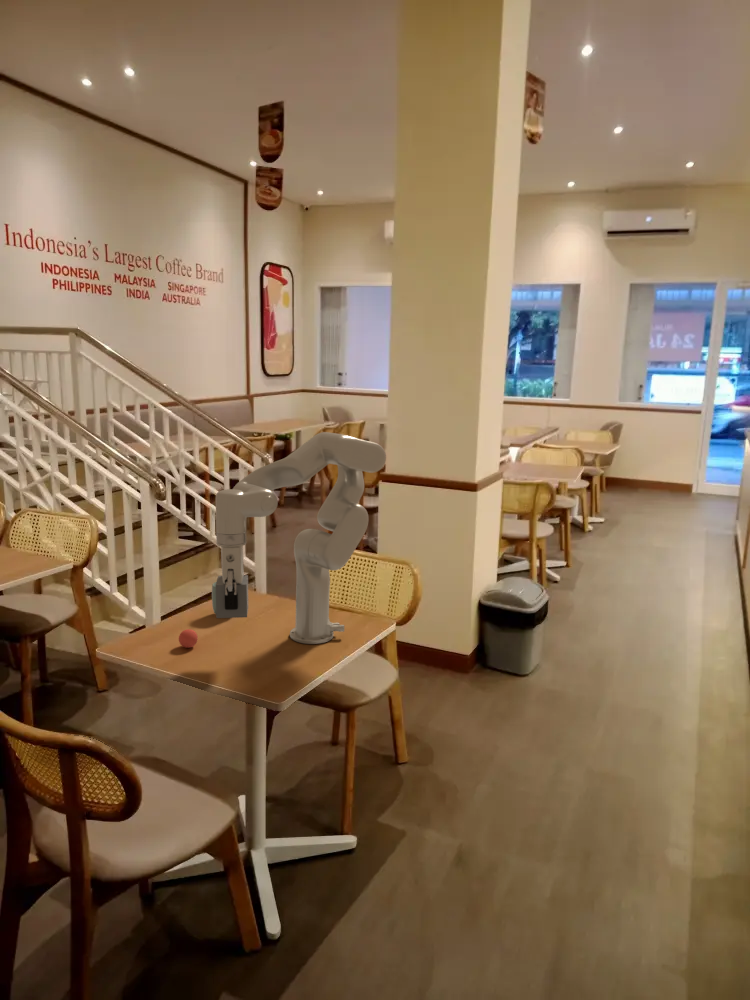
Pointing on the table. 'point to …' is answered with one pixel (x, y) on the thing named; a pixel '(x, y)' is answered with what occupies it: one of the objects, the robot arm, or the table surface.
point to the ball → (188, 638)
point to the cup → (214, 597)
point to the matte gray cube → (242, 599)
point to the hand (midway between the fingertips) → (232, 603)
